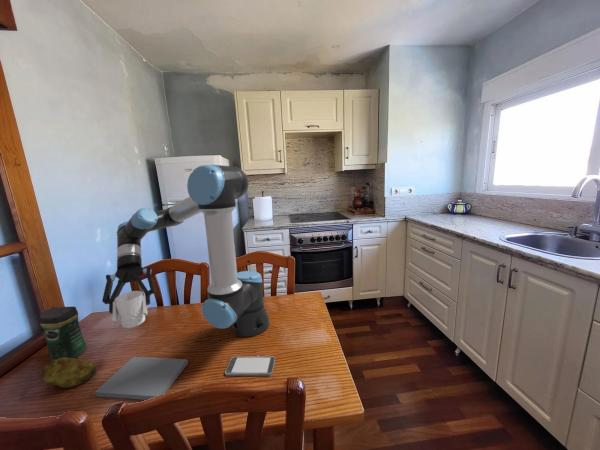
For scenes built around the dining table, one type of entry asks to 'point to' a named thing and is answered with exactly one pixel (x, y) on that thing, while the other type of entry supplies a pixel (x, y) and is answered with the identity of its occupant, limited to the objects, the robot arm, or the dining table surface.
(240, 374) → the smartphone
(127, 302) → the white cup
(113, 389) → the grey board
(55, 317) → the coffee jar
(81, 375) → the potato
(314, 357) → the dining table surface
